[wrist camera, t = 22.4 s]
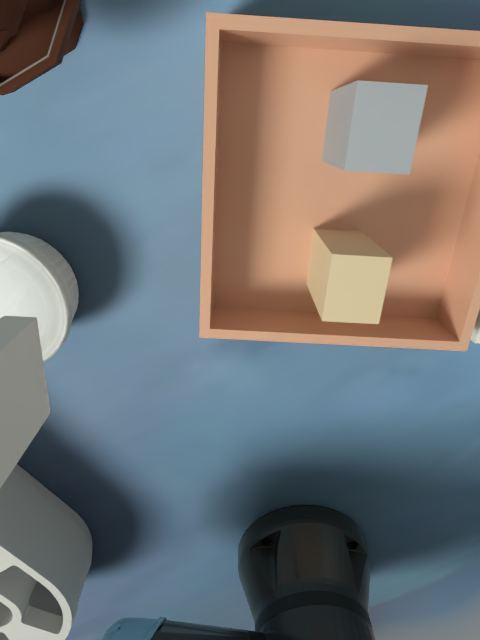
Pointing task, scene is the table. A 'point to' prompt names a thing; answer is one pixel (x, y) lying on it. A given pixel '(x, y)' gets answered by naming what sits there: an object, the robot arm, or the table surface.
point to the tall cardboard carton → (347, 276)
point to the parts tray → (476, 330)
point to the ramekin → (37, 287)
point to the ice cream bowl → (35, 38)
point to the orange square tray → (336, 181)
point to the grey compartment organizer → (39, 560)
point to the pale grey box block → (373, 126)
